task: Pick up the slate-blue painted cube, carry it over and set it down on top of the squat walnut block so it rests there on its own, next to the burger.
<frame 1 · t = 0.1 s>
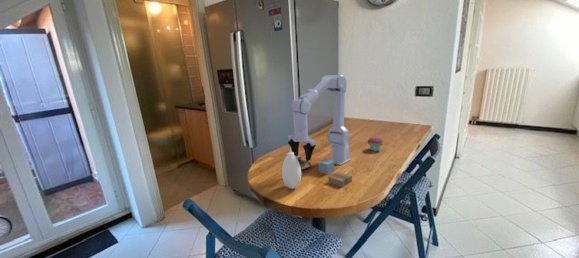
hand: (302, 158, 109), 10 cm above the table, fingers open, 7 cm apart
blue cube: (326, 171, 118), on the table
cupcake: (375, 149, 144), on the table
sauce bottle: (292, 188, 104), on the table
walnut block: (340, 182, 107), on the table
burger: (299, 167, 125), on the table
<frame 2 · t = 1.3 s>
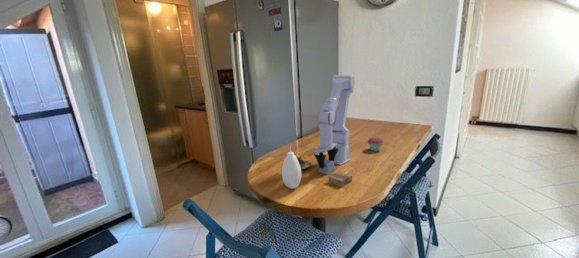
hand: (326, 165, 117), 3 cm above the table, fingers open, 7 cm apart
nothing on the table moved.
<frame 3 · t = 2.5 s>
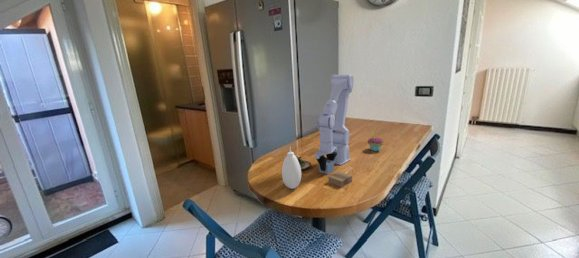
hand: (326, 168, 118), 1 cm above the table, fingers closed on blue cube, 5 cm apart
blue cube: (326, 171, 118), on the table, touching gripper
everything else where it was.
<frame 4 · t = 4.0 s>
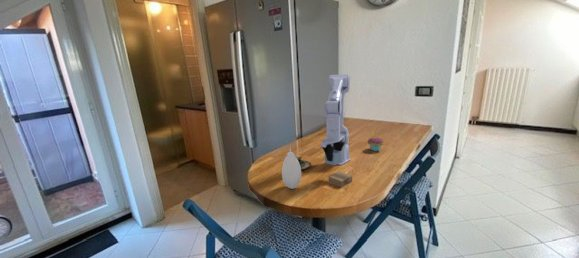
hand: (333, 159, 110), 9 cm above the table, fingers closed on blue cube, 5 cm apart
blue cube: (333, 162, 110), point 7 cm above the table, touching gripper
everything else where it was.
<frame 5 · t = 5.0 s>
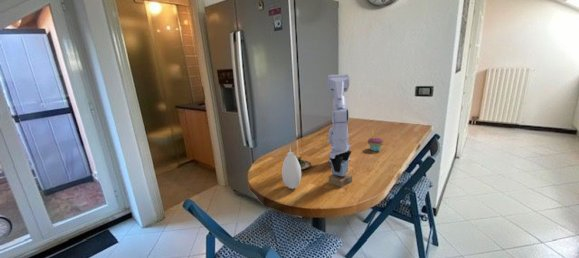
hand: (340, 169, 106), 6 cm above the table, fingers closed on blue cube, 5 cm apart
blue cube: (339, 172, 106), point 4 cm above the table, touching gripper
everything else where it was.
when the fingers open (6 cm above the table, at t = 5.7 s): blue cube drops 1 cm, resting on walnut block.
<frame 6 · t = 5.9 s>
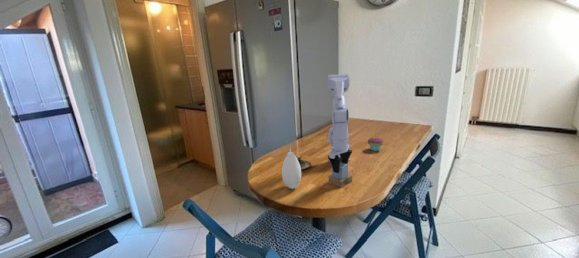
hand: (340, 169, 106), 6 cm above the table, fingers open, 7 cm apart
blue cube: (339, 175, 106), point 3 cm above the table, touching walnut block
walnut block: (340, 182, 107), on the table, touching blue cube
everything else where it was.
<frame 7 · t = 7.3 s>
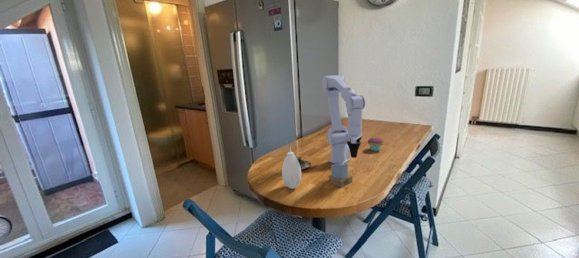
hand: (354, 154, 110), 10 cm above the table, fingers open, 7 cm apart
nothing on the table moved.
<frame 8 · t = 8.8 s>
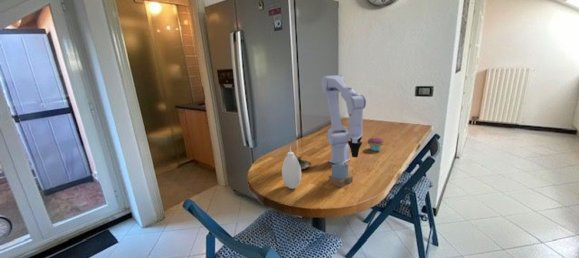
hand: (355, 153, 111), 10 cm above the table, fingers open, 7 cm apart
nothing on the table moved.
at the end: blue cube 0.3 cm off-centre on the walnut block, point 3.0 cm above the walnut block's base; blue cube tilted 1°; the gripper is holding nothing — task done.
